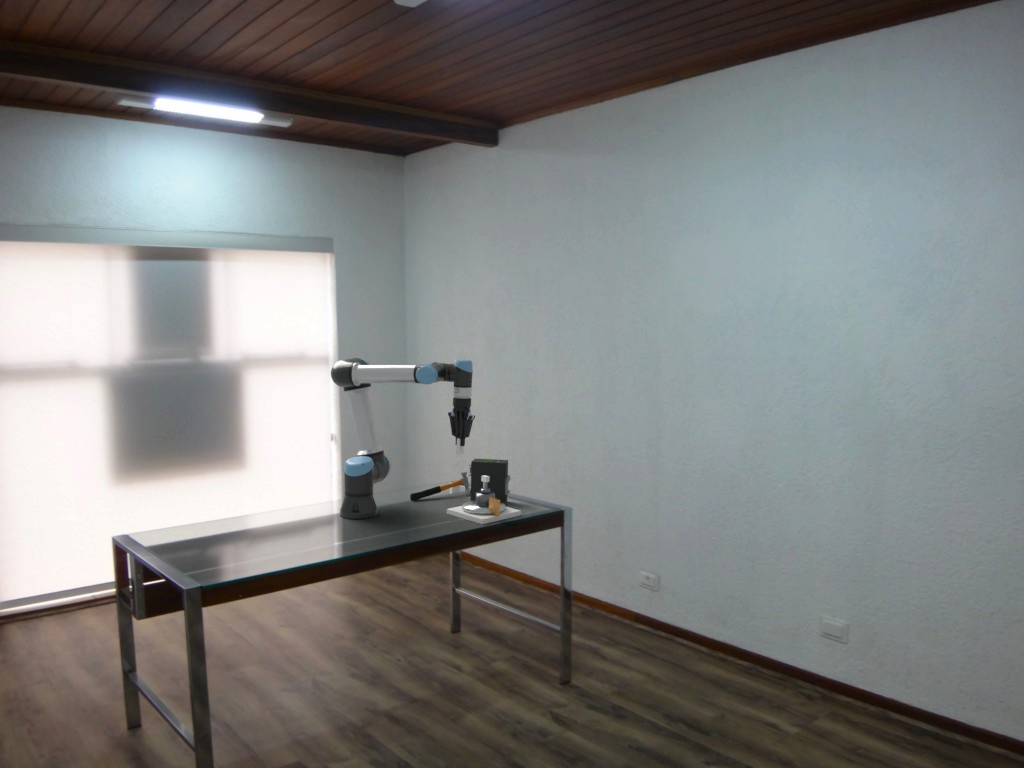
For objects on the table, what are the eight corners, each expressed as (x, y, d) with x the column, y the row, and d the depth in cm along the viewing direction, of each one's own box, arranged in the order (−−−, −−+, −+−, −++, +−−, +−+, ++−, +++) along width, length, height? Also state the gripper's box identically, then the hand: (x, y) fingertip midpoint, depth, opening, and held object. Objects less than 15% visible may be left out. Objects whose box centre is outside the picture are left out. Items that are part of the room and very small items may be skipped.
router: (470, 499, 366) (471, 455, 364) (510, 501, 363) (511, 457, 361) (467, 503, 358) (468, 459, 356) (507, 505, 355) (508, 460, 354)
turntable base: (446, 513, 340) (447, 480, 338) (485, 505, 355) (485, 474, 354) (482, 524, 324) (482, 490, 323) (520, 515, 339) (521, 482, 338)
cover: (481, 508, 334) (481, 491, 333) (472, 503, 341) (472, 487, 340) (498, 506, 338) (498, 490, 337) (489, 501, 345) (489, 486, 344)
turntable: (478, 518, 324) (478, 502, 323) (455, 506, 343) (455, 490, 342) (517, 514, 332) (517, 498, 332) (493, 502, 351) (493, 487, 351)
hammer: (411, 488, 358) (468, 471, 374) (407, 487, 361) (464, 470, 377) (414, 512, 360) (471, 493, 376) (410, 510, 363) (466, 492, 379)
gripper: (444, 396, 334) (441, 452, 336) (468, 399, 326) (466, 457, 328) (456, 394, 340) (453, 450, 342) (480, 398, 332) (477, 454, 334)
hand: (459, 453), depth 335 cm, fingers closed
